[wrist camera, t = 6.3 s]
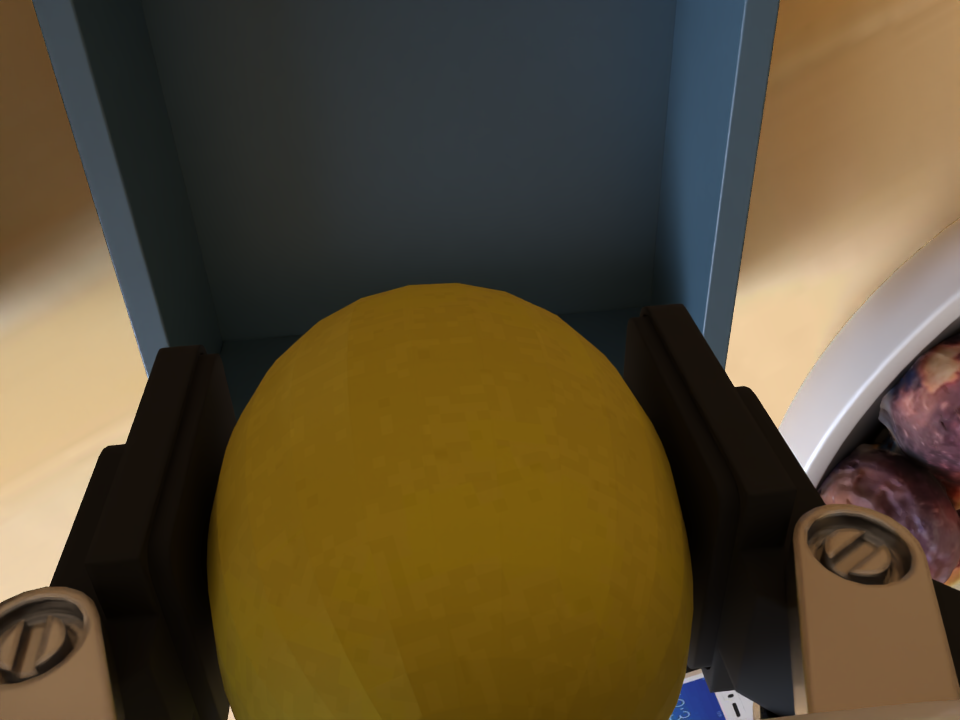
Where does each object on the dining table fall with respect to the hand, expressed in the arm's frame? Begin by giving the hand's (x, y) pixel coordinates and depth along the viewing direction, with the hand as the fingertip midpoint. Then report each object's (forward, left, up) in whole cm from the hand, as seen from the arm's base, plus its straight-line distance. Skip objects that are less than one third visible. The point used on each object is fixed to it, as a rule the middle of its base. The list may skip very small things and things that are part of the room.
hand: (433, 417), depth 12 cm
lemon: (0, 0, -2) cm, 2 cm away
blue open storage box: (0, -1, -15) cm, 15 cm away
